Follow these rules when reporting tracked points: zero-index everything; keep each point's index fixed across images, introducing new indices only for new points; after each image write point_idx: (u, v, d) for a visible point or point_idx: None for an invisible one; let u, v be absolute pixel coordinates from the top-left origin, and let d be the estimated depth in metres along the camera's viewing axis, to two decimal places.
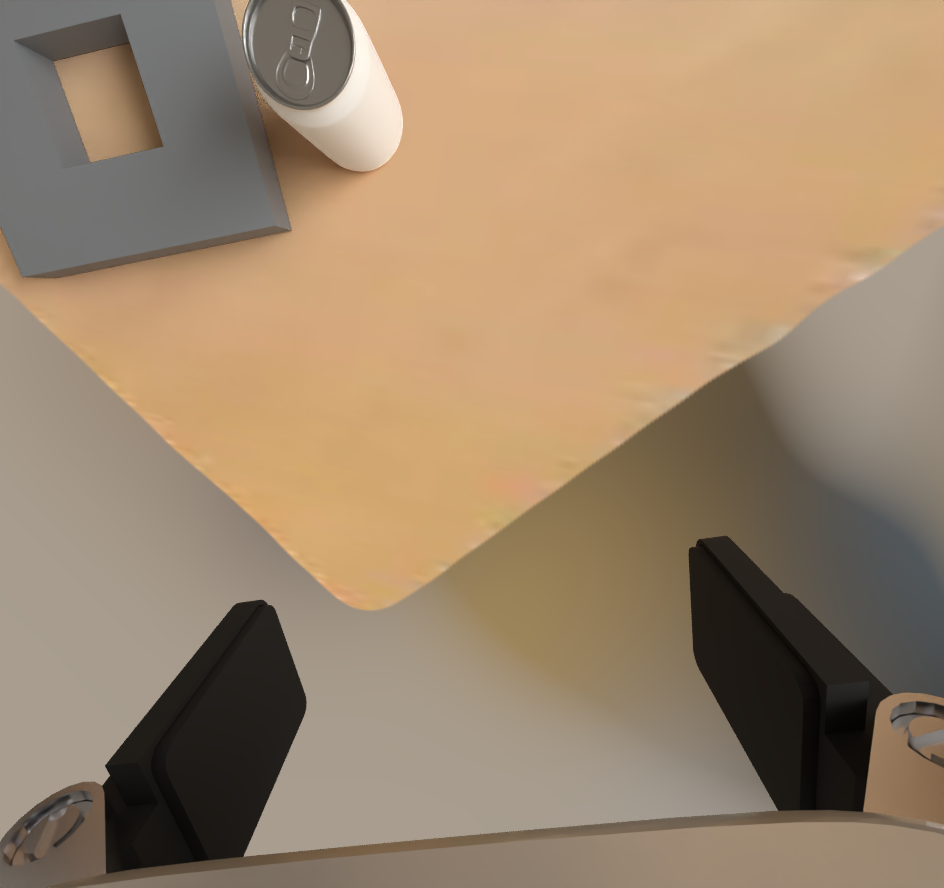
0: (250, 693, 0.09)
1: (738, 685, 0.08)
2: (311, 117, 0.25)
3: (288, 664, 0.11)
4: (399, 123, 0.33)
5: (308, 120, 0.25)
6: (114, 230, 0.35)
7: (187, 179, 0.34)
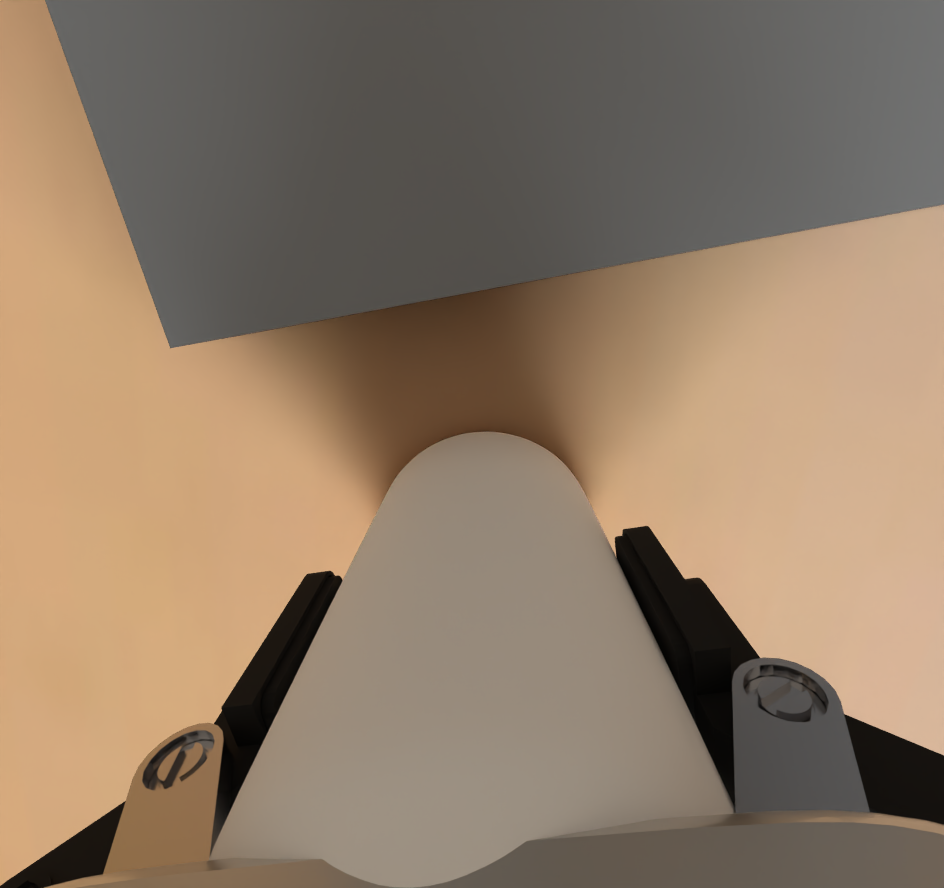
0: None
1: None
2: None
3: None
4: None
5: None
6: None
7: (269, 31, 0.09)
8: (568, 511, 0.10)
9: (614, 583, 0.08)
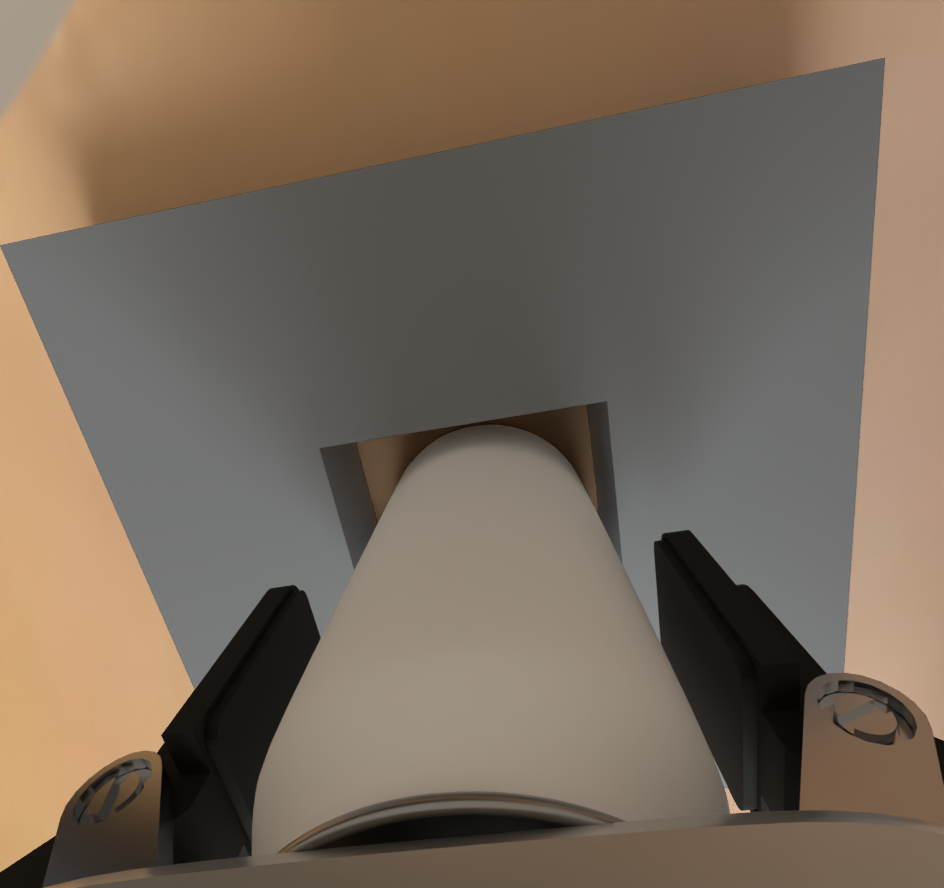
0: (287, 673, 0.10)
1: (695, 670, 0.09)
2: None
3: None
4: None
5: None
6: (191, 540, 0.14)
7: None
8: (565, 491, 0.11)
9: (602, 548, 0.09)
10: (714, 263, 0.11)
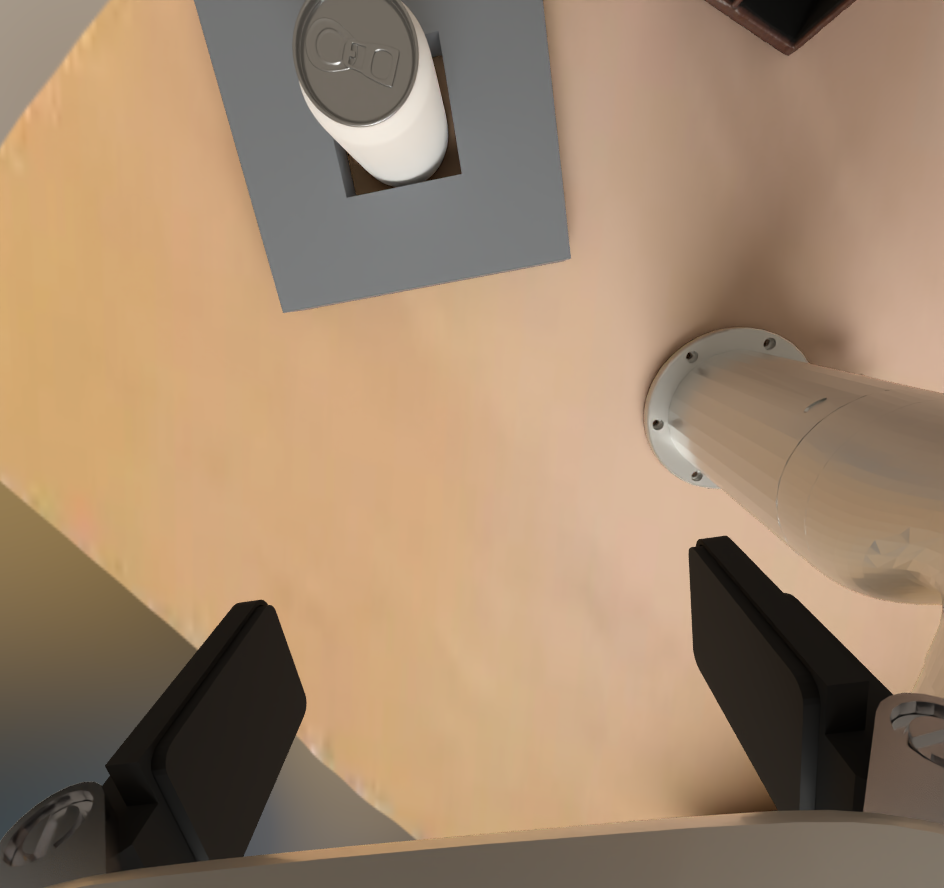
0: (250, 693, 0.09)
1: (738, 685, 0.08)
2: None
3: (288, 664, 0.11)
4: (391, 183, 0.32)
5: None
6: (255, 115, 0.30)
7: (317, 220, 0.32)
8: None
9: None
10: None
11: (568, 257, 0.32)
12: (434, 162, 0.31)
